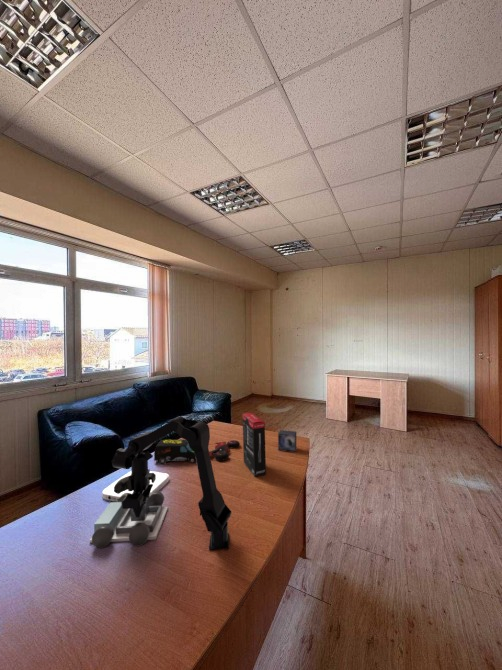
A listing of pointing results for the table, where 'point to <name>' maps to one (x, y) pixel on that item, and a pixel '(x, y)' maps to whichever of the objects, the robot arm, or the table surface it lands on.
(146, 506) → the dark grey cube
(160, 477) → the computer
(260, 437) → the graphics card box
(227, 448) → the toy motorcycle
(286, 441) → the small box
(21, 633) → the table surface
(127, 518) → the toy car chassis
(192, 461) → the toy van
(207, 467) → the robot arm
